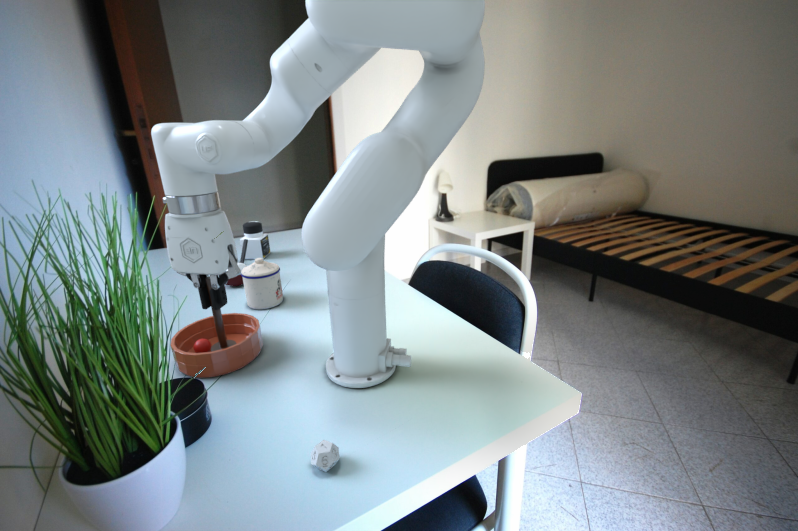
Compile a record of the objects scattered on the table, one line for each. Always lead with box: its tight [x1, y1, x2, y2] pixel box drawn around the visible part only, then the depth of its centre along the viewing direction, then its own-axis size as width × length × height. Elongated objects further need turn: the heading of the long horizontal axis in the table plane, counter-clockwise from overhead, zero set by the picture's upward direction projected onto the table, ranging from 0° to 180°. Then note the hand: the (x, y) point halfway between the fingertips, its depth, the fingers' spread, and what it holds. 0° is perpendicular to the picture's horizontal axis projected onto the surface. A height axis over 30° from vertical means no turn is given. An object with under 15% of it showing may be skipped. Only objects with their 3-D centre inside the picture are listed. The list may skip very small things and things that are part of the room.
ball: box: [193, 339, 211, 353], centre depth 70 cm, size 3×3×3 cm
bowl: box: [170, 312, 264, 379], centre depth 71 cm, size 15×15×5 cm
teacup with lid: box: [241, 258, 284, 310], centre depth 92 cm, size 12×9×12 cm
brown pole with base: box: [205, 275, 236, 352], centre depth 67 cm, size 4×4×15 cm
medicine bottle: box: [239, 220, 271, 260], centre depth 126 cm, size 7×7×12 cm
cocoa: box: [225, 239, 248, 287], centre depth 103 cm, size 10×6×12 cm, turn 126°
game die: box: [310, 439, 340, 473], centre depth 47 cm, size 4×4×3 cm
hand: (215, 305), depth 66 cm, fingers closed on brown pole with base, 1 cm apart
